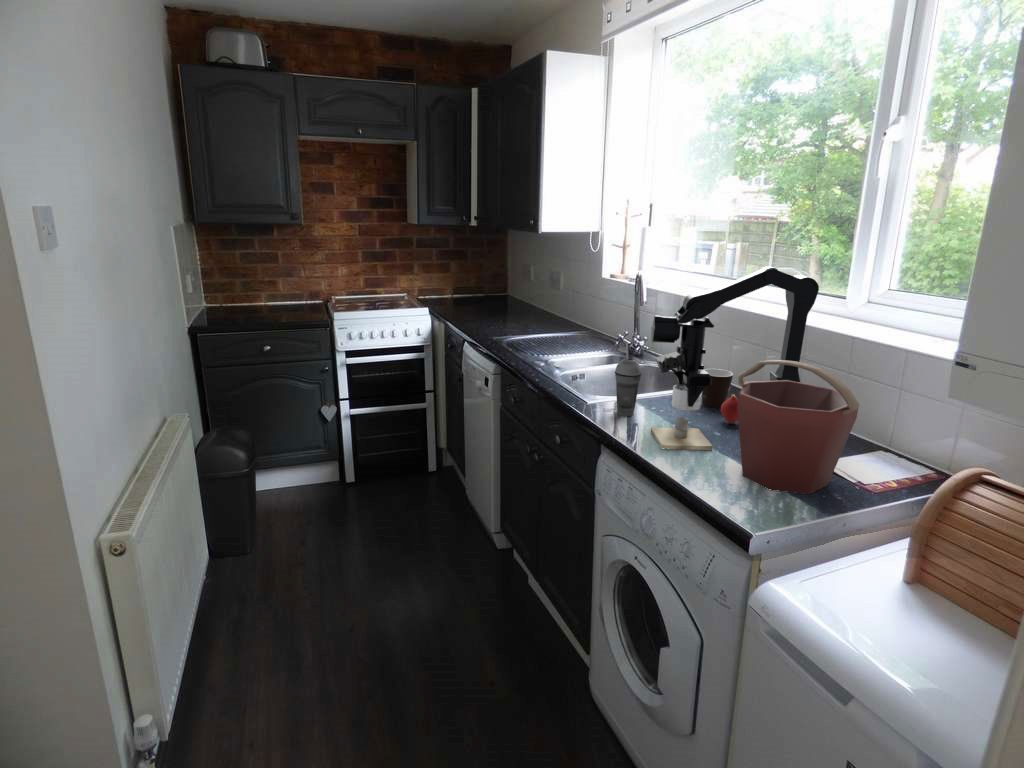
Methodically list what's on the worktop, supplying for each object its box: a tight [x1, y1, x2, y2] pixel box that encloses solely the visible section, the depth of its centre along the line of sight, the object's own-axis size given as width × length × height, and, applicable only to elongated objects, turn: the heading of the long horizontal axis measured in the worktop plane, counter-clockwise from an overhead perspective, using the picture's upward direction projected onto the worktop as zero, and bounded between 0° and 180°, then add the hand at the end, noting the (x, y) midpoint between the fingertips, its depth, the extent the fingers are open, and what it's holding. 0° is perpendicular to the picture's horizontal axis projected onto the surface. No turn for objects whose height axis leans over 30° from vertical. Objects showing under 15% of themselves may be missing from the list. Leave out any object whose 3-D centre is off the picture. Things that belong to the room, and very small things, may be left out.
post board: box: [650, 416, 713, 451], centre depth 153 cm, size 12×12×6 cm
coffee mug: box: [701, 368, 734, 410], centre depth 180 cm, size 12×9×10 cm
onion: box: [720, 394, 738, 425], centre depth 165 cm, size 6×6×8 cm
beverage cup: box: [614, 341, 642, 417], centre depth 170 cm, size 7×7×20 cm
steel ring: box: [671, 383, 702, 411], centre depth 162 cm, size 7×7×5 cm
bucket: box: [737, 359, 860, 495], centre depth 131 cm, size 24×22×25 cm
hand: (686, 402), depth 162 cm, fingers closed on steel ring, 7 cm apart
